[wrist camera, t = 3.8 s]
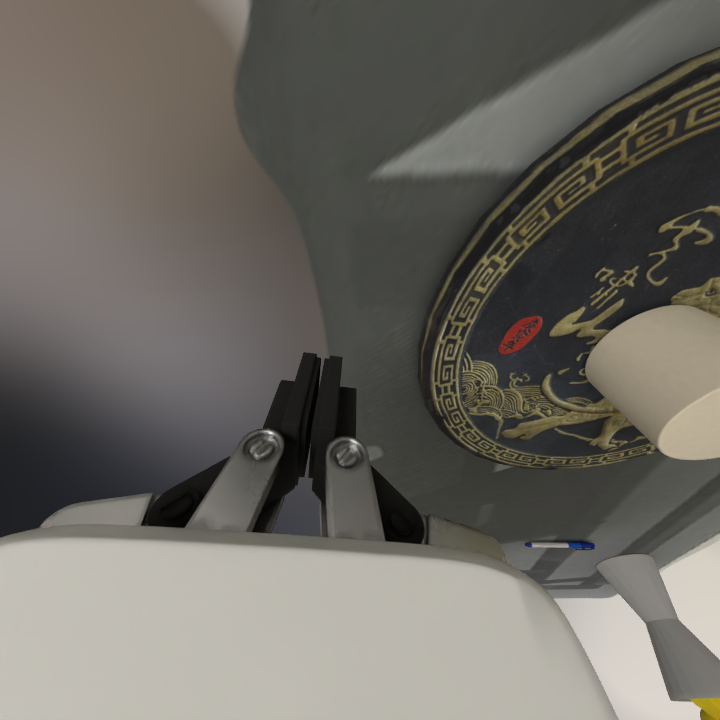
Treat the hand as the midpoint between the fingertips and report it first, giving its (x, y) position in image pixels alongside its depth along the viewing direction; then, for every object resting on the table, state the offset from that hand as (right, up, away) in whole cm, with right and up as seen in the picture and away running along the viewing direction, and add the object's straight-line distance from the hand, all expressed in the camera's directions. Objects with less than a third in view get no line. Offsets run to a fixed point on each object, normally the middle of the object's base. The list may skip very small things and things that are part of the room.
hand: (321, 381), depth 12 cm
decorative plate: (+21, +3, +8) cm, 23 cm away
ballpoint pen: (+33, -27, +30) cm, 52 cm away
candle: (+21, +2, +6) cm, 22 cm away
